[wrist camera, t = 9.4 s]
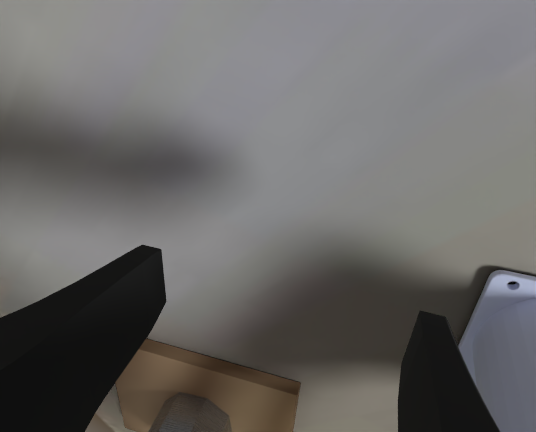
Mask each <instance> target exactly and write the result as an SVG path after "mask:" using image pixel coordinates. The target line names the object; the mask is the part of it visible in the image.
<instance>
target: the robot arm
mask: <svg viewBox="0 0 536 432" xmlns="http://www.w3.org/2000/svg"><path fill="white" fill-rule="evenodd" d="M511 281H516V282H517V283H516V284H513V285H510V284H508V283H509V282H511ZM165 303H166V293H165V283H164V272H163V262H162V252H161V249H158V248H154V247H150V246H146V245H141V246H139V247H137V248H135V249H133V250H131V251H130V252H128V253H126V254H124V255H123V256H121V257H119V258H117V259H116V260H114V261H112V262H110V263H109V264H107V265H105V266H103V267H102V268H100V269H98V270H96V271H95V272H93V273H91V274H89V275H87V276H86V277H84V278H82V279H80V280H79V281H77V282H75V283H73V284H71V285H69V286H67V287H65V288H63V289H61V290H59V291H57V292H55V293H53V294H51V295H49V296H48V297H46V298H44V299H42V300H40V301H38V302H35V303H33V304H31V305H29V306H27V307H25V308H22V309H20V310H18V311H16V312H13V313H11V314H8V315H6V316H4V317H1V318H0V432H85V430H86V428H87V426H88V425H89V423H90V421H91V419H92V418H93V416H94V414H95V412H96V411H97V409H98V408H99V406H100V404H101V403H102V401H103V400H104V398H105V397H106V395H107V394H108V392H109V391H110V389H111V388H112V387H113V385H114V384H115V382H116V381H117V379H118V378H119V377H120V375H121V374H122V372H123V371H124V369H125V368H126V367H127V365H128V364H129V362H130V361H131V360H132V358H133V357H134V355H135V354H136V352H137V351H138V349H139V348H140V347H141V345H142V344H143V342H144V341H145V339H146V338H147V336H148V335H149V333H150V332H151V330H152V328H153V326H154V325H155V323H156V321H157V319H158V317H159V315H160V313H161V311H162V309H163V307H164V305H165ZM398 432H536V277H534V276H529V275H524V274H520V273H515V272H510V271H505V270H497V271H494V272H492V273H491V274H490V276H489V277H488V280H487V282H486V284H485V287H484V289H483V291H482V293H481V296H480V298H479V300H478V302H477V305H476V307H475V309H474V311H473V314H472V316H471V318H470V321H469V323H468V325H467V327H466V330H465V332H464V334H463V336H462V339H461V341H460V343H459V345H457V343H456V340H455V338H454V335H453V333H452V330H451V328H450V325H449V322H448V320H447V319H446V317H444V316H440V315H435V314H431V313H427V312H423V311H420V312H419V315H418V318H417V321H416V323H415V326H414V329H413V332H412V335H411V338H410V341H409V344H408V347H407V349H406V352H405V355H404V358H403V361H402V365H401V374H400V384H399V395H398Z"/></svg>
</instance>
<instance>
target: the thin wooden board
mask: <svg viewBox="0 0 536 432" xmlns="http://www.w3.org/2000/svg"><path fill="white" fill-rule="evenodd" d="M115 383H116V388H117V393H118V397H119V402H120V406H121V411H122V416H123V420H124V425H125V428H128V429H131V430H134V431H137V432H148V431H149V429H150V427H151V426H152V424H153V422H154V420H155V418H156V417H157V415H158V413H159V411H160V409H161V407H162V406H163V404H164V402H165V401H166V400H167V399H169V398H171V397H172V396H174V395H175V394H177V393H179V392H182V393H187V394H192V395H196V396H201V397H205V398H208V399H209V400H210V401H211V402H213V403H214V404H215V405H216V406H218V407H219V408H220V409H222V410H223V411H224V412H225V413H227V414H228V415H229V418H230V423H231V428H232V432H293V428H294V422H295V416H296V409H297V403H298V396H299V390H300V384H301V383H299V382H296V381H292V380H289V379H285V378H282V377H278V376H275V375H271V374H268V373H264V372H261V371H257V370H254V369H250V368H247V367H243V366H240V365H236V364H233V363H229V362H226V361H222V360H219V359H215V358H212V357H208V356H205V355H201V354H198V353H194V352H191V351H187V350H184V349H180V348H177V347H173V346H170V345H166V344H163V343H159V342H156V341H152V340H149V339H145V341H144V342H143V344H142V345H141V347H140V348H139V349H138V351H137V352H136V354H135V355H134V357H133V358H132V360H131V361H130V362H129V364H128V365H127V367H126V368H125V369H124V371H123V372H122V374H121V375H120V377H119V378H118V379H117V381H116V382H115Z"/></svg>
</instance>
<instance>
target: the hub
mask: <svg viewBox="0 0 536 432" xmlns="http://www.w3.org/2000/svg"><path fill="white" fill-rule="evenodd" d="M148 432H232V428H231V423H230V418H229V415H228V414H227V413H225V412H224V411H223V410H222V409H220V408H219V407H218V406H216V405H215V404H214V403H213V402H211V401H210V400H209V399H208V398H205V397H201V396H196V395H192V394H187V393H182V392H179V393H177V394H175V395H174V396H172V397H171V398H169V399H167V400H166V401H165V402H164V404H163V406H162V407H161V409H160V411H159V413H158V415H157V417H156V418H155V420H154V422H153V424H152V426H151V427H150V429H149V431H148Z"/></svg>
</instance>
